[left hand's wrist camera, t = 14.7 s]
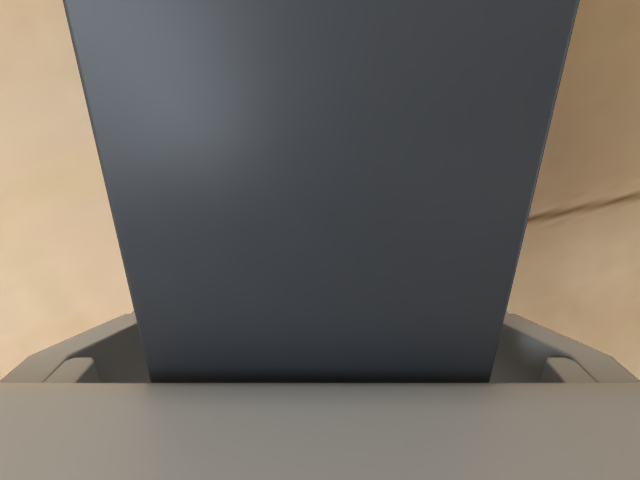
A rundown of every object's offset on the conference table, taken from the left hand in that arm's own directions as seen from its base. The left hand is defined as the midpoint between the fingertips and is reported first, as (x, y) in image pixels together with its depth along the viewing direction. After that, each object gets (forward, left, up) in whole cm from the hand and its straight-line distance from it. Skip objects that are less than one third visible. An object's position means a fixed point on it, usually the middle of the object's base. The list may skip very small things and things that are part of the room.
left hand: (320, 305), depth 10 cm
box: (-8, +6, -5) cm, 11 cm away
